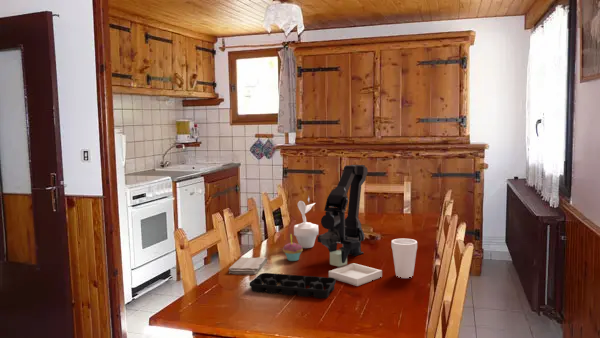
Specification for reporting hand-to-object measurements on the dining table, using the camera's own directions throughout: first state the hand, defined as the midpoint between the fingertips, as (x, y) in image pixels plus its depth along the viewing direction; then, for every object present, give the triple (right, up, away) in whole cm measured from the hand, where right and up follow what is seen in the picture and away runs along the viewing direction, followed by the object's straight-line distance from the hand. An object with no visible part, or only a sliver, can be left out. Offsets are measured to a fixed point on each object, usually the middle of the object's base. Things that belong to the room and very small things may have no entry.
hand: (338, 261), depth 204 cm
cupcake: (-19, -1, +9) cm, 21 cm away
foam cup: (+23, -2, -16) cm, 29 cm away
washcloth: (-37, -3, -1) cm, 37 cm away
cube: (0, -1, 0) cm, 1 cm away
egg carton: (-18, -5, -29) cm, 34 cm away
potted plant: (-12, +1, +29) cm, 32 cm away
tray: (+5, -3, -17) cm, 18 cm away
